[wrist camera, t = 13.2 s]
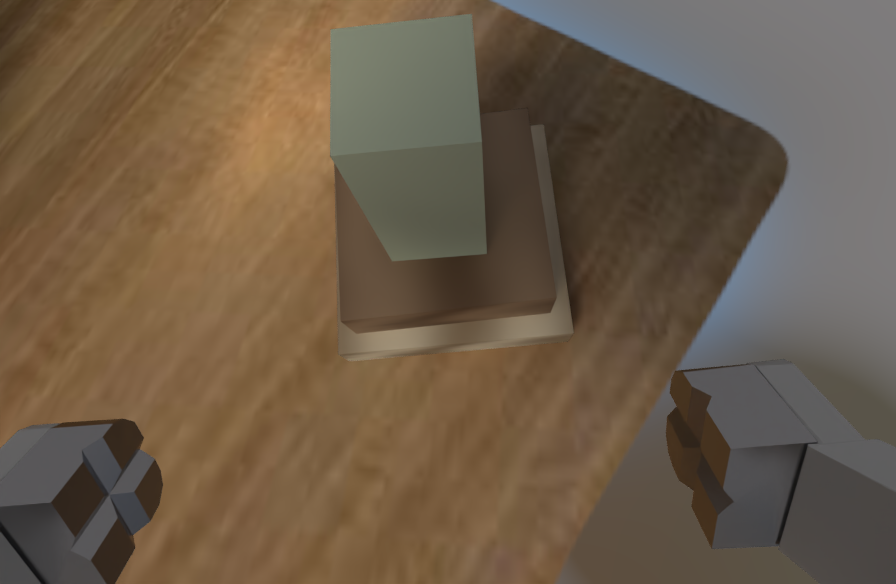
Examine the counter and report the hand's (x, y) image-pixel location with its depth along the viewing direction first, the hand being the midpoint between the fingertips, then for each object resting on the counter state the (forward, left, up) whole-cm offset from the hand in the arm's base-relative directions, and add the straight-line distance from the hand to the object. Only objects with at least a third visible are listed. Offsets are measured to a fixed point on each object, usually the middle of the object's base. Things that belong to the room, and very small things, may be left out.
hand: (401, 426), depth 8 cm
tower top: (0, +11, -19) cm, 21 cm away
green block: (0, +11, -16) cm, 19 cm away
